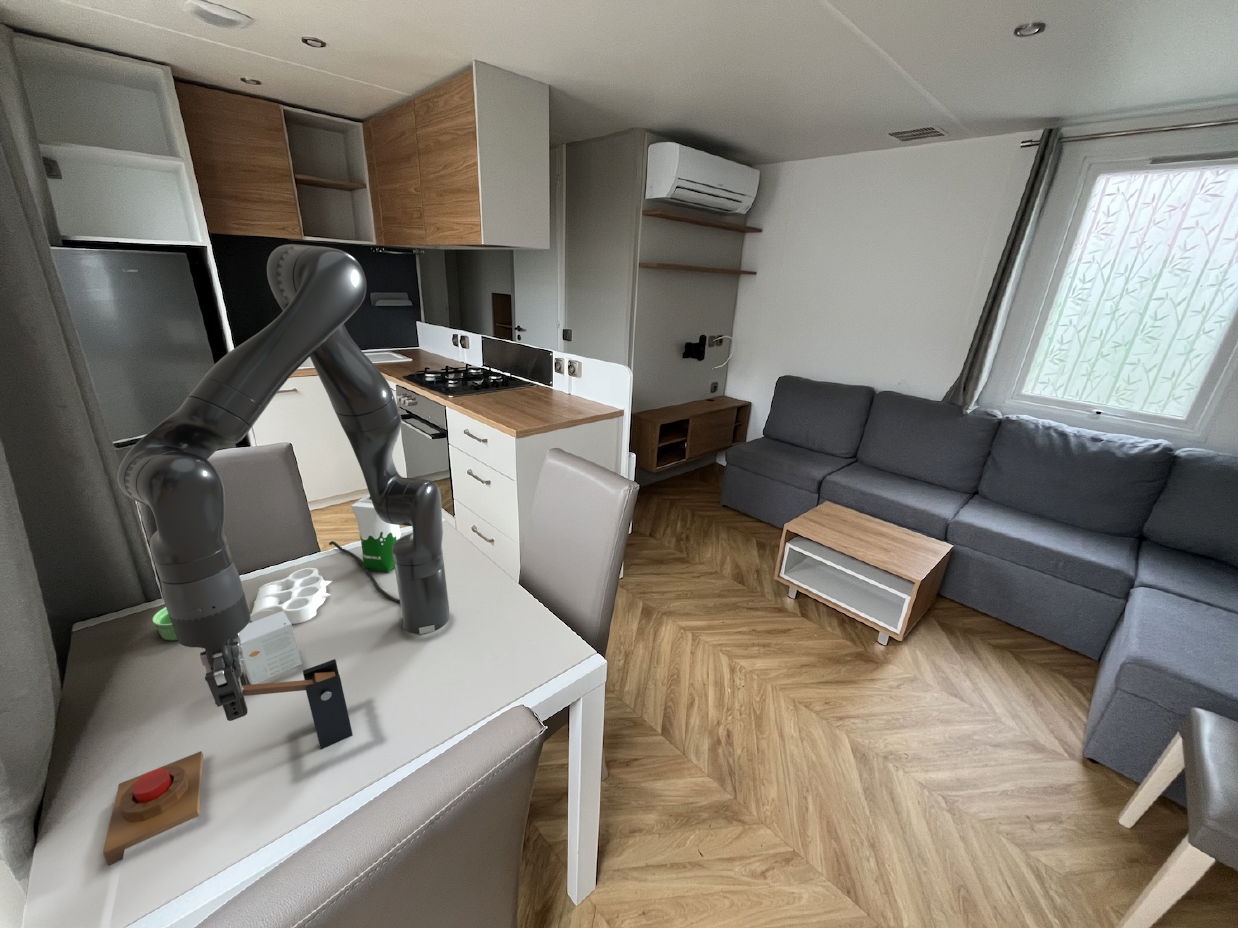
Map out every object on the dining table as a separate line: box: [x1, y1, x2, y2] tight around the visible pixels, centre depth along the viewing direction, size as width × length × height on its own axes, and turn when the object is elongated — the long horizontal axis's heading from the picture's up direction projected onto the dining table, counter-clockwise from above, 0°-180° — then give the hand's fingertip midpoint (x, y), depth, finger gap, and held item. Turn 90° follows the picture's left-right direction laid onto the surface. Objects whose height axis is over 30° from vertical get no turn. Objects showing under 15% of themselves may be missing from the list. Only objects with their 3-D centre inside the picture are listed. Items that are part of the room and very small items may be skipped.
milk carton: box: [350, 493, 402, 573], centre depth 124 cm, size 9×9×20 cm
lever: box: [241, 672, 336, 697], centre depth 71 cm, size 13×5×2 cm, turn 125°
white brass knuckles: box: [250, 567, 333, 625], centre depth 111 cm, size 3×18×15 cm
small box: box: [239, 611, 303, 685], centre depth 89 cm, size 8×6×10 cm
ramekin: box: [151, 606, 178, 641], centre depth 101 cm, size 9×9×4 cm
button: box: [132, 768, 172, 803], centre depth 66 cm, size 4×4×2 cm
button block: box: [102, 750, 204, 866], centre depth 67 cm, size 11×9×4 cm
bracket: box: [302, 658, 354, 750], centre depth 76 cm, size 11×9×13 cm
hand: (238, 702), depth 68 cm, fingers closed on lever, 5 cm apart
